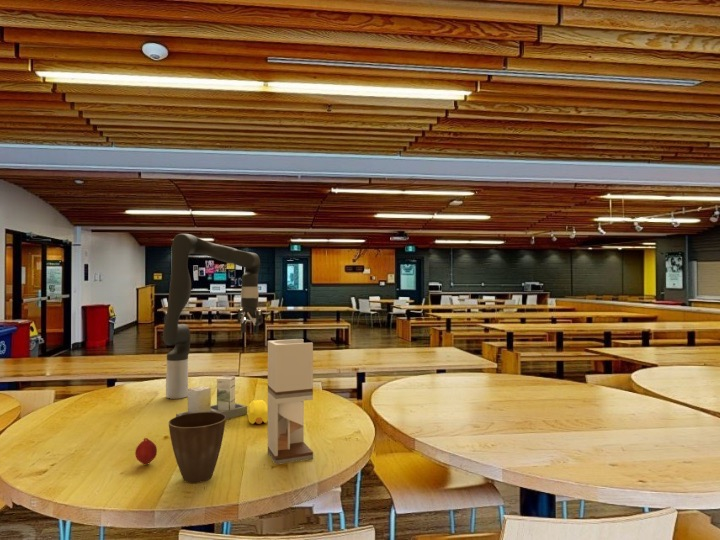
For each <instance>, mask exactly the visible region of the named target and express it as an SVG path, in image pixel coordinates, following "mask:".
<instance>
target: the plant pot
mask: <svg viewBox="0 0 720 540" xmlns="http://www.w3.org/2000/svg"><path fill="white" fill-rule="evenodd" d="M225 426H226V416H225V415H223V414H221V413H215V412H198V413H190V414H185V415H181V416H177V417H176V416H175V417H172V418H171V419H169V421H168V428H169V429H168V430H169V436H170V441H171V446H172V449H173V450H172V451H173V454H174V457H175V458H174V459H175V461H176V463H177V467H178V469H179V473H180V474H181V477H182V479H183V481H184V482H185V481H186V482H185V483H188V482H190V484H197V483H198V482H199V483H204V482H206V481H208V480H210V479H211V478H212V477H213V474H214V472H215V469H216V466H217V463H218V460H219V457H220V456H219V455H220V452H221V448H222V443H223V440H224V433H225ZM203 481H204V482H203ZM199 483H198V484H199Z"/></svg>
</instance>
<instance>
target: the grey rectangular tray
mask: <svg viewBox="0 0 720 540" xmlns="http://www.w3.org/2000/svg"><path fill="white" fill-rule="evenodd" d="M211 412H215V413H221V414H223V415H225V416H226V420H231V419H234V418H237V416H238V417H240V416H245V415H248V406H247V405H244V404H240V403H237V402H235V409H231V410H227V411H223V412H222V411H218V410H217V403H216V404H211ZM185 414H188V411H184V412H180V413H176V414H175V417H177V416H181V415H185ZM233 417H234V418H233ZM226 420H225V421H226Z"/></svg>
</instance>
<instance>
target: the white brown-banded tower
mask: <svg viewBox="0 0 720 540" xmlns="http://www.w3.org/2000/svg"><path fill="white" fill-rule="evenodd" d="M313 400H314V343H313V342H304V339H303V338H293V339H277V340H276V339H275V340H267V408H268V421H267V453H268V456H269V457H270V458H271V460H272V462H273V463H274V464H275V465H276V464H277V465H282V464H287V463H288V464H289V463H294V462H295V463H296V462H301V460H302V461H308V460H313V459H314V452H313V450H312V449H311V448H310V447H309V446H308V445H307V444H306V442H305V441H304V438H305V437H304V436H305V434H304V433H305V432H304V427H305V426H304V424H305V423H304V419H305V418H304V410H305V409H304V406H305V405H304V402H306V401H313ZM307 459H308V460H307Z"/></svg>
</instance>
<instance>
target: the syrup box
mask: <svg viewBox="0 0 720 540" xmlns="http://www.w3.org/2000/svg"><path fill="white" fill-rule="evenodd" d="M235 403H236V376H235V375H221V376H218V377H217V378H216V404H217V410H218V411H222V412H223V411H227V410H231V409H235Z"/></svg>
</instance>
